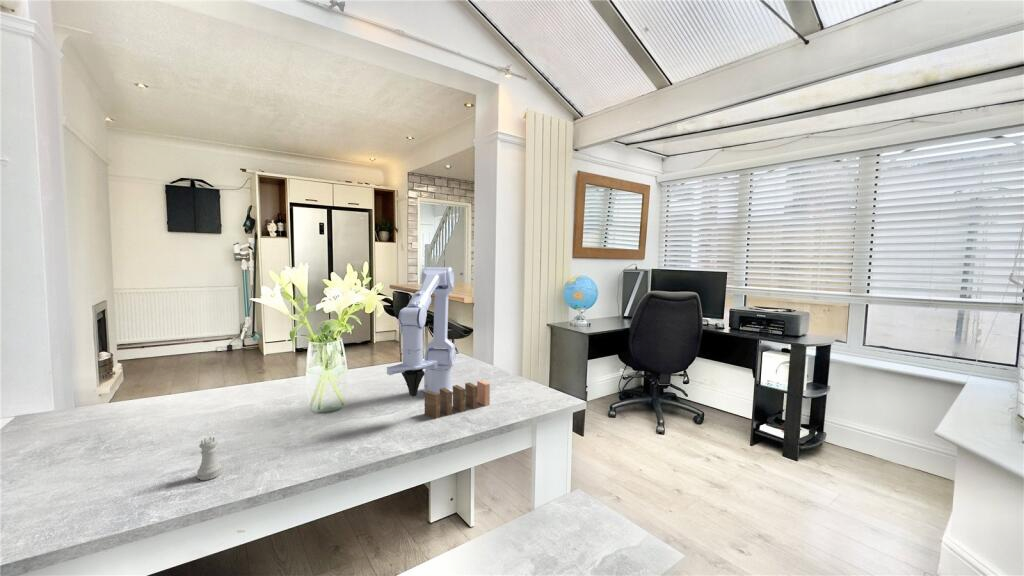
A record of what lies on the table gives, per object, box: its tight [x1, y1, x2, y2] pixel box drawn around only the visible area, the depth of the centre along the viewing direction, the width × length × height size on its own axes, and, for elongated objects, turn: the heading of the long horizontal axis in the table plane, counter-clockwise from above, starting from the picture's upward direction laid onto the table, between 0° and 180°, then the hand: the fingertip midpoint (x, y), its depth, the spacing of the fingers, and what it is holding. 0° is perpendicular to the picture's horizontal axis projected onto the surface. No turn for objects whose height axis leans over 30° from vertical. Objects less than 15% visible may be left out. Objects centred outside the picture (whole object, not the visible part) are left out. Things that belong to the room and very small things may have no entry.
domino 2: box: [440, 388, 453, 416], centre depth 124 cm, size 2×5×7 cm, turn 36°
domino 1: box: [423, 391, 441, 419], centre depth 122 cm, size 2×5×7 cm, turn 53°
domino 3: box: [452, 384, 466, 413], centre depth 127 cm, size 2×5×7 cm, turn 37°
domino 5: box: [476, 379, 491, 407], centre depth 132 cm, size 2×5×7 cm, turn 36°
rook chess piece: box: [196, 436, 223, 481], centre depth 87 cm, size 4×4×8 cm
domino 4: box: [464, 382, 479, 410], centre depth 130 cm, size 2×5×7 cm, turn 37°
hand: (413, 395), depth 118 cm, fingers closed
